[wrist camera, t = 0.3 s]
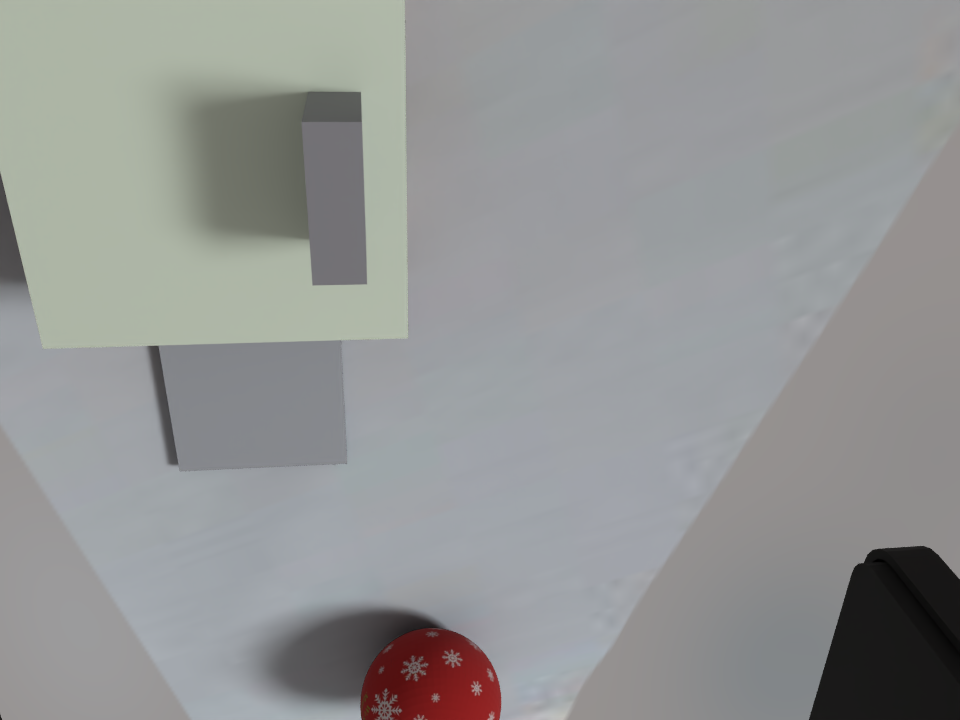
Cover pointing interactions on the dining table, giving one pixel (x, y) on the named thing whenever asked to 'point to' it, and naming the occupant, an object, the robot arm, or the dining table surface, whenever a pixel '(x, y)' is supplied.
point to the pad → (256, 404)
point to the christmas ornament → (431, 680)
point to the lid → (207, 169)
